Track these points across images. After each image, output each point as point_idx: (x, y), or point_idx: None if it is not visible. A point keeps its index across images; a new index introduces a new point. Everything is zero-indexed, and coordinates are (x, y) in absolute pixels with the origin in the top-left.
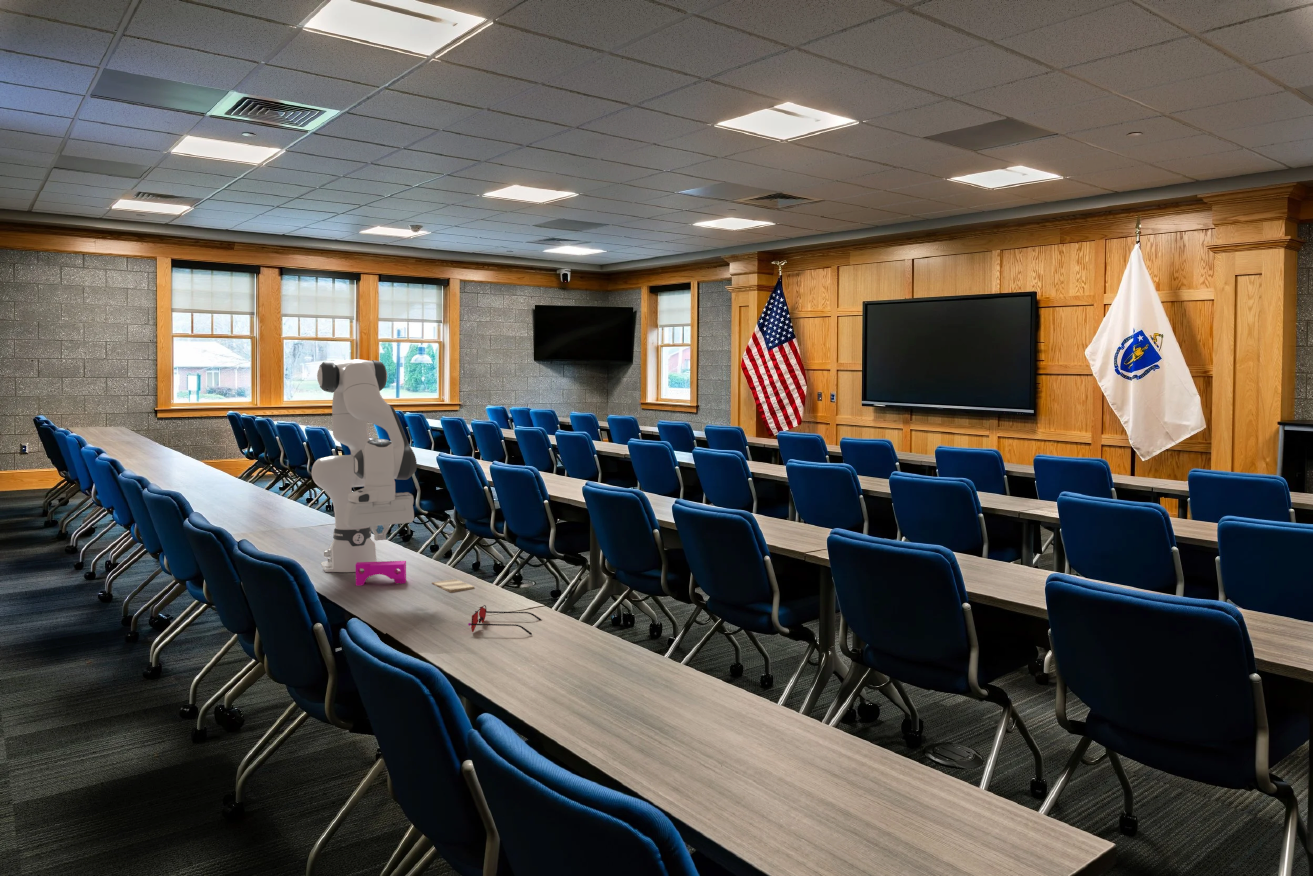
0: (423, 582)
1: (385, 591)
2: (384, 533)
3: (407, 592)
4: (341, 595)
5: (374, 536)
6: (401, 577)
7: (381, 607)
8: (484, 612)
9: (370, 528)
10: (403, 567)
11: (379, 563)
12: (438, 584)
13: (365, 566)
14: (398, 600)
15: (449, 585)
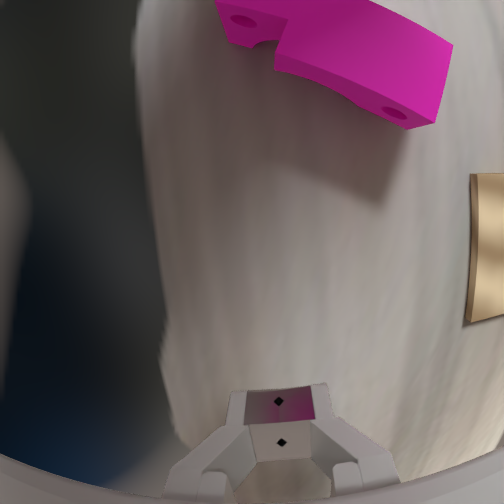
0: (461, 96)
1: (316, 162)
2: (319, 462)
3: (380, 225)
4: (154, 150)
5: (228, 414)
6: (399, 123)
7: (243, 386)
8: None
9: (170, 472)
10: (425, 123)
11: (331, 28)
12: (481, 223)
13: (261, 16)
14: (314, 330)
15: (496, 258)
